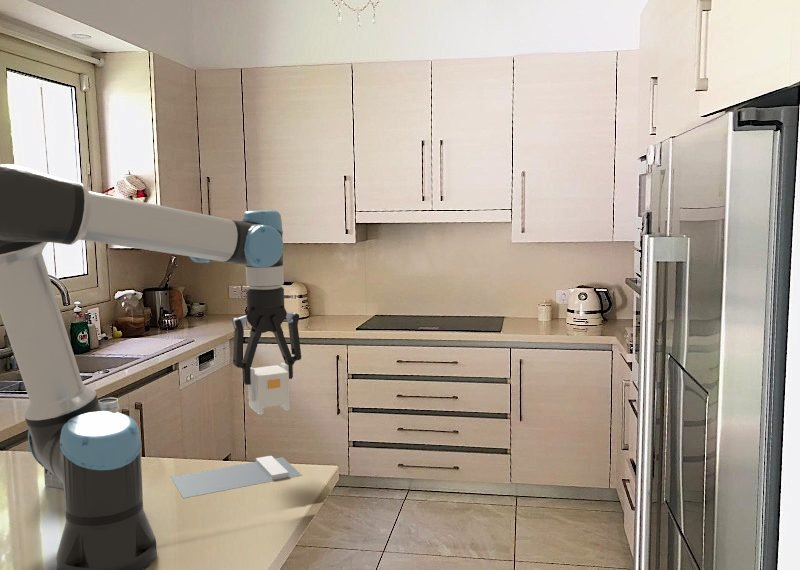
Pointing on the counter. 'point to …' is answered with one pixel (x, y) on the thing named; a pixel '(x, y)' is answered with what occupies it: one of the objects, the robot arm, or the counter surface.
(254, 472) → the panel
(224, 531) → the counter surface
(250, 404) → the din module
